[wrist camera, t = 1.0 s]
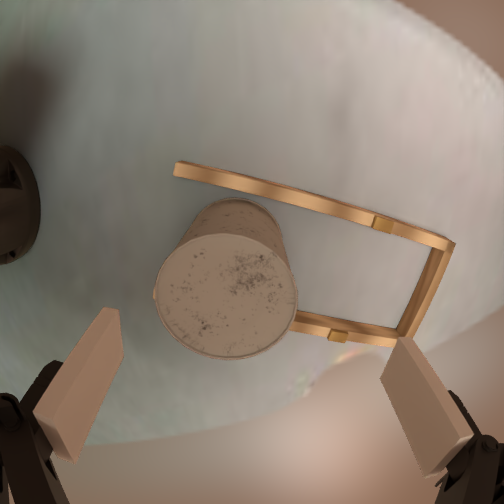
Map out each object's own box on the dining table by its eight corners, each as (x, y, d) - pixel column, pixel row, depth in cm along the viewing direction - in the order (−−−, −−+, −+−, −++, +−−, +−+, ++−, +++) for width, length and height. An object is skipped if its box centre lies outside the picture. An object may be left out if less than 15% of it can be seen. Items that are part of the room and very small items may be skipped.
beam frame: (159, 287, 34) (151, 301, 31) (181, 160, 29) (174, 162, 26) (399, 338, 36) (408, 352, 33) (444, 236, 31) (458, 245, 28)
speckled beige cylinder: (289, 278, 33) (305, 349, 22) (201, 293, 34) (178, 366, 22) (273, 188, 30) (285, 219, 18) (178, 208, 31) (135, 249, 19)
